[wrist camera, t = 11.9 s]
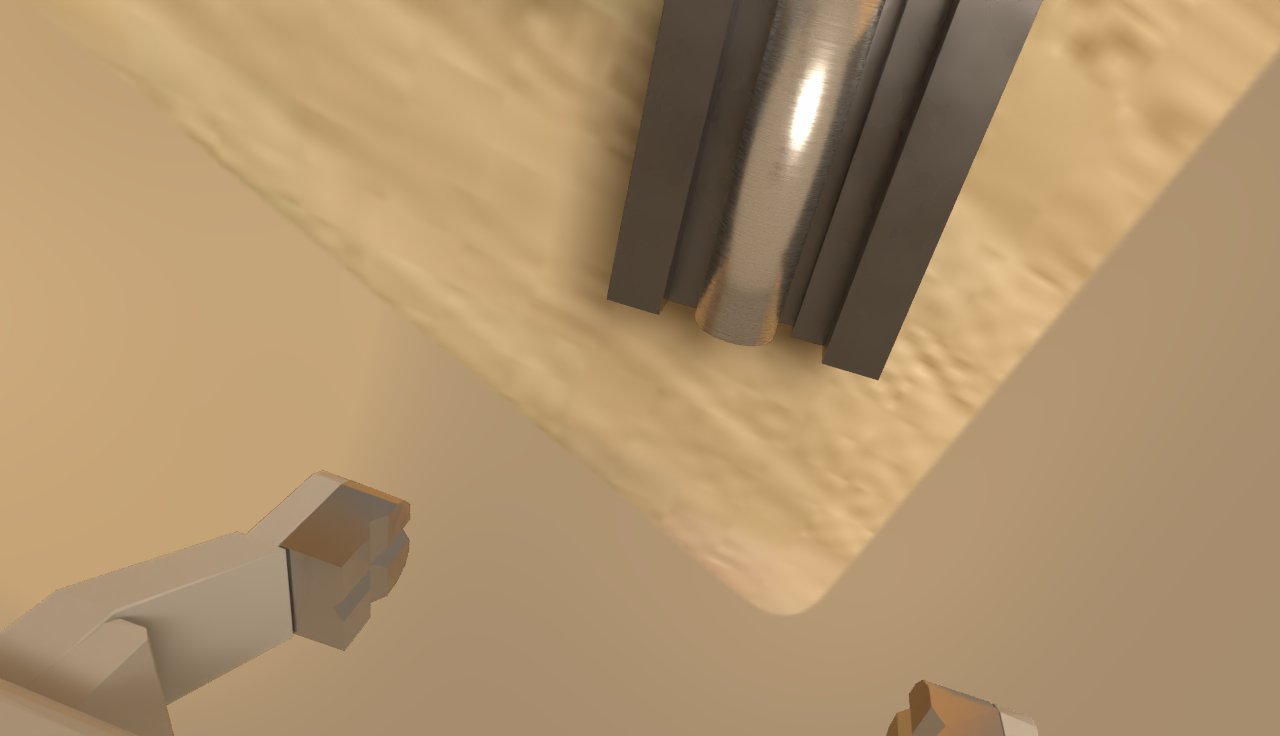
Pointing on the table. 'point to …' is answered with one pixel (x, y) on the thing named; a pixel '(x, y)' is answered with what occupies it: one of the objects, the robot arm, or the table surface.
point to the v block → (858, 177)
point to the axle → (784, 162)
